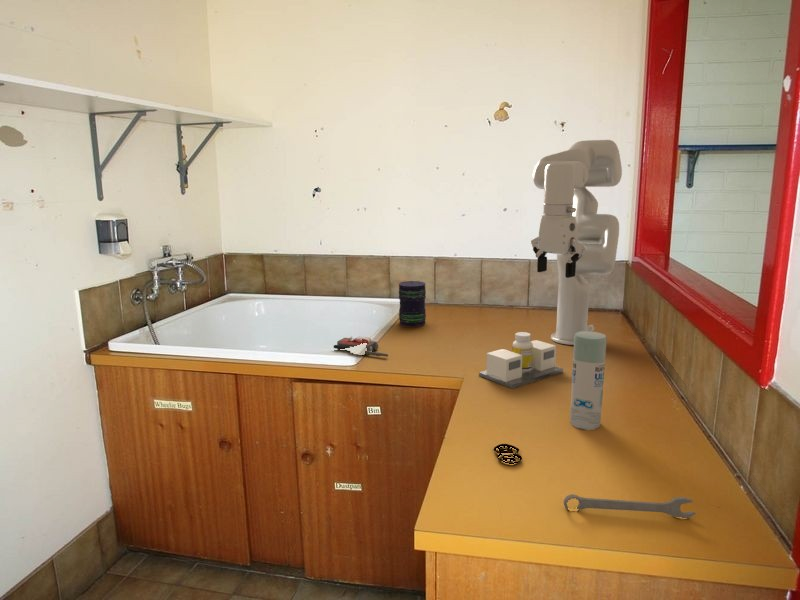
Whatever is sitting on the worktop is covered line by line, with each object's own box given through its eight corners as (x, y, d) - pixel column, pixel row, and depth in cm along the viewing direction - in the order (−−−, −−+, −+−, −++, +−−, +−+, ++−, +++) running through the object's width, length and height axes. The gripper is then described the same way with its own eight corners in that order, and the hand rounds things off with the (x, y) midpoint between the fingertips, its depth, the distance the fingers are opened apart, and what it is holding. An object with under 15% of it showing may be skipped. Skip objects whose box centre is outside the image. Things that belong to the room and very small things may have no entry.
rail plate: (529, 361, 165) (529, 356, 165) (562, 372, 156) (563, 366, 155) (479, 375, 154) (479, 370, 153) (512, 388, 144) (512, 383, 144)
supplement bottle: (509, 365, 157) (510, 331, 155) (528, 365, 157) (530, 330, 155) (514, 372, 152) (515, 337, 149) (534, 371, 152) (536, 336, 150)
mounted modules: (535, 360, 163) (536, 340, 161) (555, 366, 157) (556, 345, 156) (486, 374, 152) (486, 353, 150) (506, 382, 146) (507, 359, 145)
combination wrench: (564, 494, 91) (698, 502, 87) (563, 490, 92) (695, 497, 89) (563, 515, 92) (696, 523, 88) (563, 510, 93) (694, 518, 90)
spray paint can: (596, 432, 119) (602, 341, 115) (565, 426, 122) (570, 336, 118) (603, 421, 124) (610, 333, 120) (574, 415, 128) (578, 329, 124)
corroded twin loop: (498, 468, 106) (498, 463, 106) (491, 447, 114) (491, 443, 113) (525, 468, 106) (525, 462, 106) (516, 447, 114) (516, 443, 113)
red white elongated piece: (329, 352, 177) (386, 361, 168) (328, 339, 176) (386, 346, 167) (344, 345, 185) (399, 352, 176) (343, 332, 184) (399, 339, 175)
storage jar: (426, 326, 204) (426, 286, 200) (398, 327, 204) (398, 286, 201) (425, 320, 213) (425, 280, 210) (399, 320, 214) (398, 281, 210)
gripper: (594, 211, 145) (591, 277, 149) (542, 207, 159) (540, 267, 163) (575, 214, 141) (572, 281, 145) (523, 209, 155) (522, 271, 159)
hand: (555, 274), depth 154 cm, fingers open, 9 cm apart
